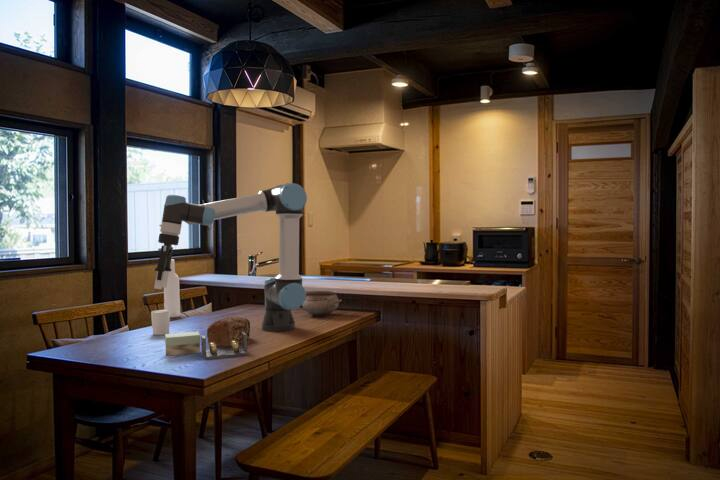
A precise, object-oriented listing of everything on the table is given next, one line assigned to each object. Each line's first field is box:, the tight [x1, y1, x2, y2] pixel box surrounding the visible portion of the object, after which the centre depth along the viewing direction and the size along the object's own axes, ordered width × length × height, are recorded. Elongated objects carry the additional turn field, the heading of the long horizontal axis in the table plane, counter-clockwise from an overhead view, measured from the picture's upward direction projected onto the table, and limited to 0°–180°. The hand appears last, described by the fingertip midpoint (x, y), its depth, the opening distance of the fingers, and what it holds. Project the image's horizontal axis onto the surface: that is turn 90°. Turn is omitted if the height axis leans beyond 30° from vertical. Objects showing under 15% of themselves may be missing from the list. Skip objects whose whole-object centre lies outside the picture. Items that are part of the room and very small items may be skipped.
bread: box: [206, 316, 251, 348], centre depth 235 cm, size 19×11×10 cm, turn 165°
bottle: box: [163, 258, 181, 318], centre depth 305 cm, size 8×8×30 cm
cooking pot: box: [301, 289, 343, 318], centre depth 298 cm, size 25×19×12 cm
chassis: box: [200, 332, 249, 361], centre depth 213 cm, size 16×12×7 cm
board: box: [164, 330, 201, 347], centre depth 216 cm, size 12×8×3 cm, turn 111°
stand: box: [165, 342, 201, 357], centre depth 216 cm, size 12×3×4 cm, turn 111°
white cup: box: [150, 309, 171, 336], centre depth 257 cm, size 8×8×10 cm
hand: (160, 288), depth 226 cm, fingers open, 13 cm apart
